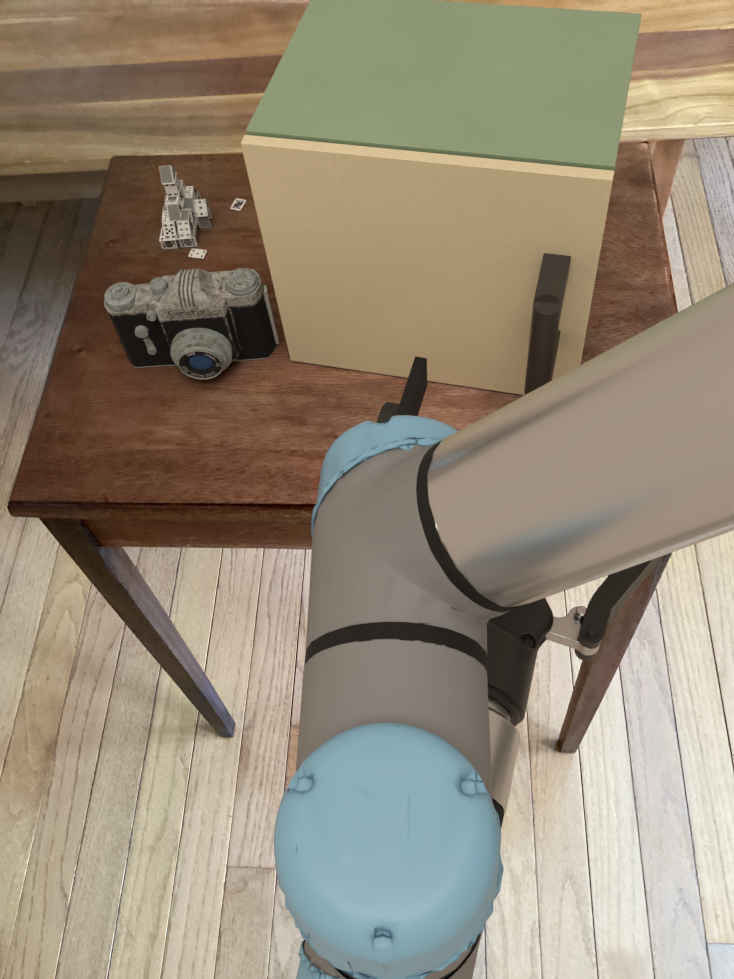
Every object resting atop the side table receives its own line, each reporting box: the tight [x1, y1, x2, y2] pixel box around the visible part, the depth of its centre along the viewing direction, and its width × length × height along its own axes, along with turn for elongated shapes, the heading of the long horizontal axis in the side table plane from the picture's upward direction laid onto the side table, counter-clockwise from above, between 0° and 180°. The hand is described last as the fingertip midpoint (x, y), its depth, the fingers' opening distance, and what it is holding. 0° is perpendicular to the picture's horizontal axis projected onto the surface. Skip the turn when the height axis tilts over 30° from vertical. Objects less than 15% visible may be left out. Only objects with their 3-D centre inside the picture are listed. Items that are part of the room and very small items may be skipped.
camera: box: [103, 267, 280, 381], centre depth 84 cm, size 15×7×10 cm, turn 91°
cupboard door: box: [240, 134, 615, 396], centre depth 73 cm, size 7×26×24 cm, turn 76°
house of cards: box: [158, 164, 248, 260], centre depth 95 cm, size 9×9×8 cm
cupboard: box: [245, 0, 642, 172], centre depth 79 cm, size 18×26×24 cm
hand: (527, 389), depth 58 cm, fingers open, 13 cm apart
